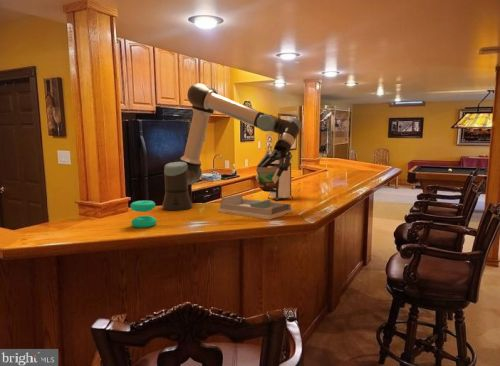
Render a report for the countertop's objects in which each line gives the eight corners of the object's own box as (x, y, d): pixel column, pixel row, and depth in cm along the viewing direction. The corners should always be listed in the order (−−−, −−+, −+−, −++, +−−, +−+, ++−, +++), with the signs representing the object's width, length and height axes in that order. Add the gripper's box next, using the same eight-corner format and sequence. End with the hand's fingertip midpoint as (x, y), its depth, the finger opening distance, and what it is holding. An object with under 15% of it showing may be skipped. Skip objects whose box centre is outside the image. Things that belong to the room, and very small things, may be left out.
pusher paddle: (242, 209, 174) (242, 202, 174) (259, 205, 185) (259, 198, 185) (253, 211, 171) (253, 203, 170) (269, 206, 181) (269, 199, 181)
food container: (261, 190, 167) (261, 168, 165) (256, 188, 172) (255, 167, 171) (286, 188, 171) (285, 166, 170) (280, 186, 177) (279, 165, 175)
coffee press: (272, 196, 224) (271, 146, 220) (297, 198, 217) (297, 146, 213) (259, 201, 209) (259, 147, 205) (286, 202, 202) (286, 147, 198)
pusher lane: (218, 211, 180) (217, 198, 179) (243, 205, 196) (243, 193, 195) (268, 219, 162) (268, 204, 161) (292, 211, 177) (292, 198, 176)
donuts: (159, 202, 152) (135, 205, 146) (160, 225, 154) (137, 229, 147) (149, 199, 160) (126, 201, 154) (150, 221, 161) (127, 225, 155)
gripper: (306, 150, 175) (288, 187, 165) (269, 149, 188) (250, 184, 178) (300, 138, 170) (281, 176, 160) (263, 139, 183) (243, 174, 173)
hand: (265, 180), depth 169 cm, fingers closed on food container, 8 cm apart
